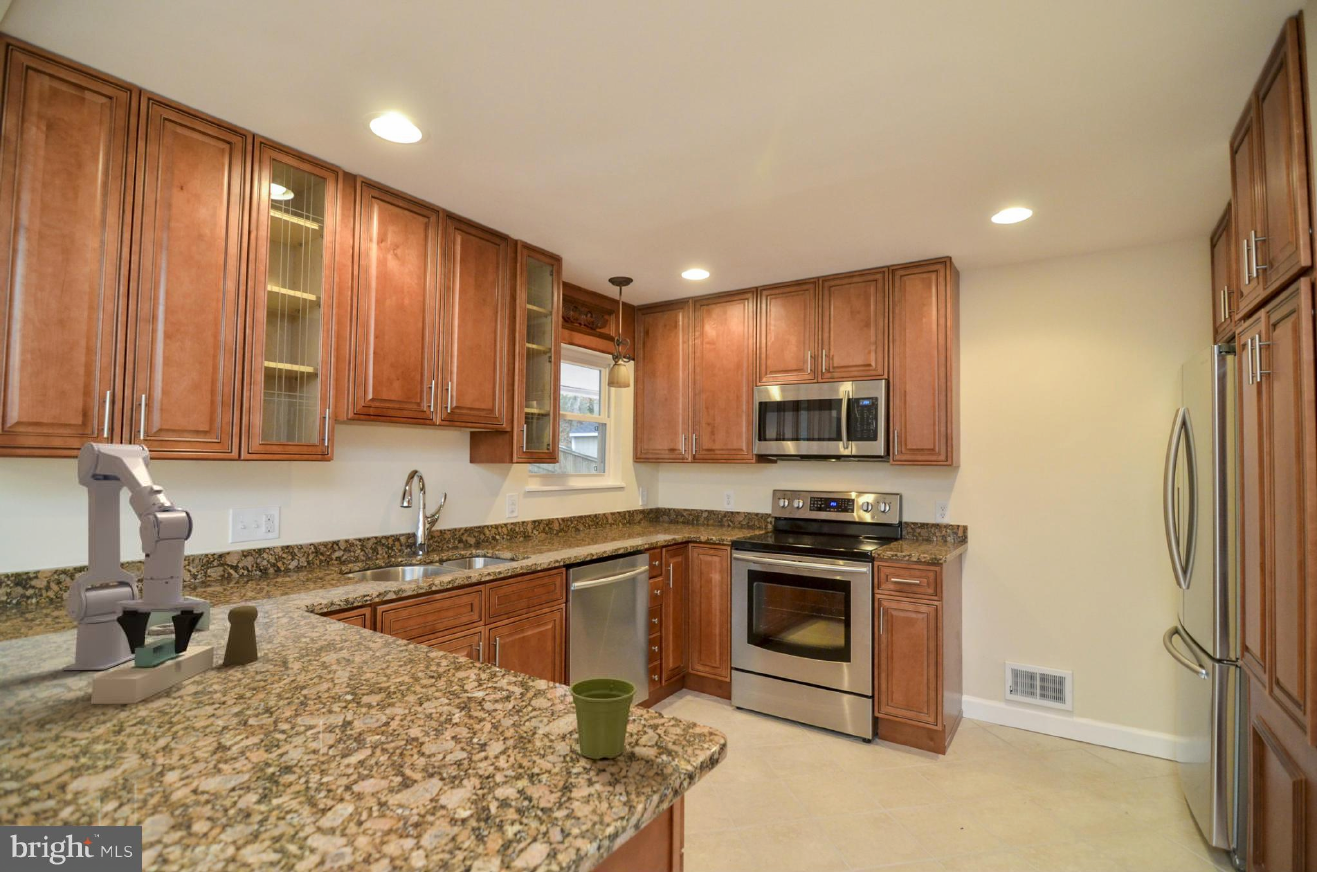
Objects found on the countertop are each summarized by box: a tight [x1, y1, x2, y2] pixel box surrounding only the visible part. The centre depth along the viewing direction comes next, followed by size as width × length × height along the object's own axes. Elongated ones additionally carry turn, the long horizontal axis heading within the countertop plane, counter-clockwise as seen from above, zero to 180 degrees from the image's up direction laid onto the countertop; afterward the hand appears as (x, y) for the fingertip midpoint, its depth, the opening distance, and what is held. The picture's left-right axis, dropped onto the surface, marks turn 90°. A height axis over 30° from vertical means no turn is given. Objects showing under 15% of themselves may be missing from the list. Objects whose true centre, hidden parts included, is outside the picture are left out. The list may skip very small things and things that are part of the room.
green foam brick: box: [134, 637, 179, 668], centre depth 114 cm, size 7×3×6 cm, turn 3°
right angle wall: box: [146, 595, 212, 636], centre depth 152 cm, size 12×12×8 cm
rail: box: [90, 645, 215, 705], centre depth 115 cm, size 20×7×4 cm, turn 3°
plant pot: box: [568, 677, 637, 760], centre depth 89 cm, size 9×9×9 cm
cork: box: [222, 605, 259, 666], centre depth 129 cm, size 6×6×11 cm
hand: (159, 652), depth 115 cm, fingers open, 7 cm apart
